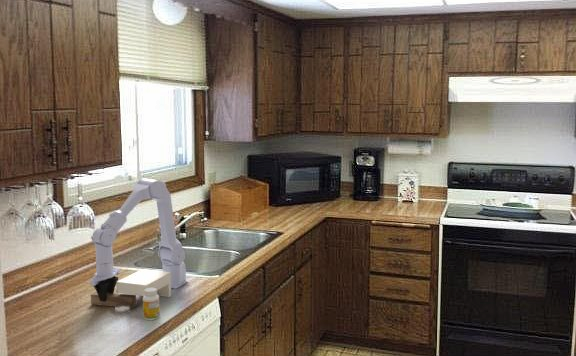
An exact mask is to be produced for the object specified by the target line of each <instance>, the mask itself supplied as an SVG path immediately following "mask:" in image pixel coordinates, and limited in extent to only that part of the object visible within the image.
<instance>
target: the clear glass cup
mask: <svg viewBox="0 0 576 356" xmlns="http://www.w3.org/2000/svg"><path fill="white" fill-rule="evenodd" d="M130 311H131V308H130V304H127V303H121V304H117V305H116V306H114V312H115V314H126V313H129V312H130Z"/></svg>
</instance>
